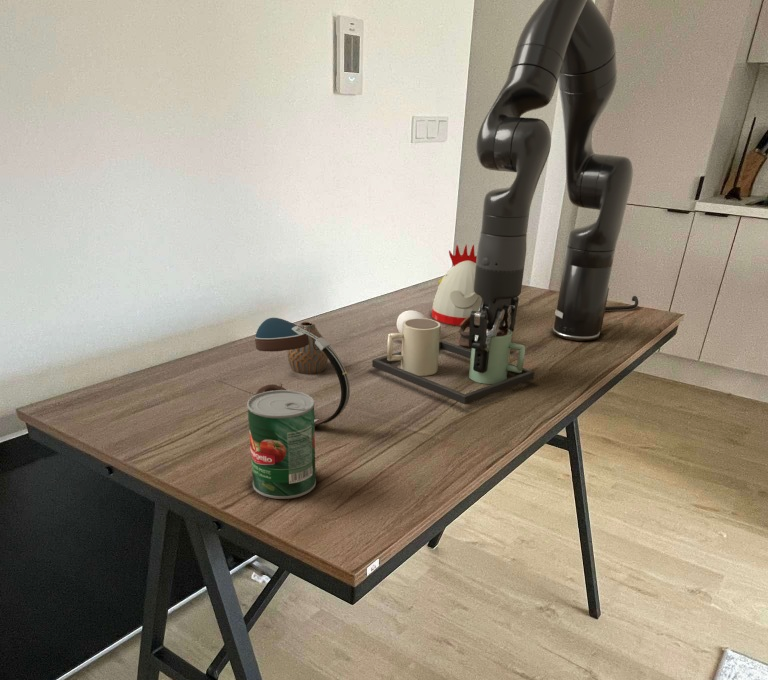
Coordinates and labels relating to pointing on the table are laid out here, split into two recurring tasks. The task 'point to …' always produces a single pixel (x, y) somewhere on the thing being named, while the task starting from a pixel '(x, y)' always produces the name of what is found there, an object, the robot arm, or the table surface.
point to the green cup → (498, 359)
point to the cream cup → (417, 346)
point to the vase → (308, 354)
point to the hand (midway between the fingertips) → (489, 365)
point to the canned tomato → (282, 443)
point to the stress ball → (405, 316)
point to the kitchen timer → (457, 290)
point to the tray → (445, 391)
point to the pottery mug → (464, 333)
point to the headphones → (290, 336)
